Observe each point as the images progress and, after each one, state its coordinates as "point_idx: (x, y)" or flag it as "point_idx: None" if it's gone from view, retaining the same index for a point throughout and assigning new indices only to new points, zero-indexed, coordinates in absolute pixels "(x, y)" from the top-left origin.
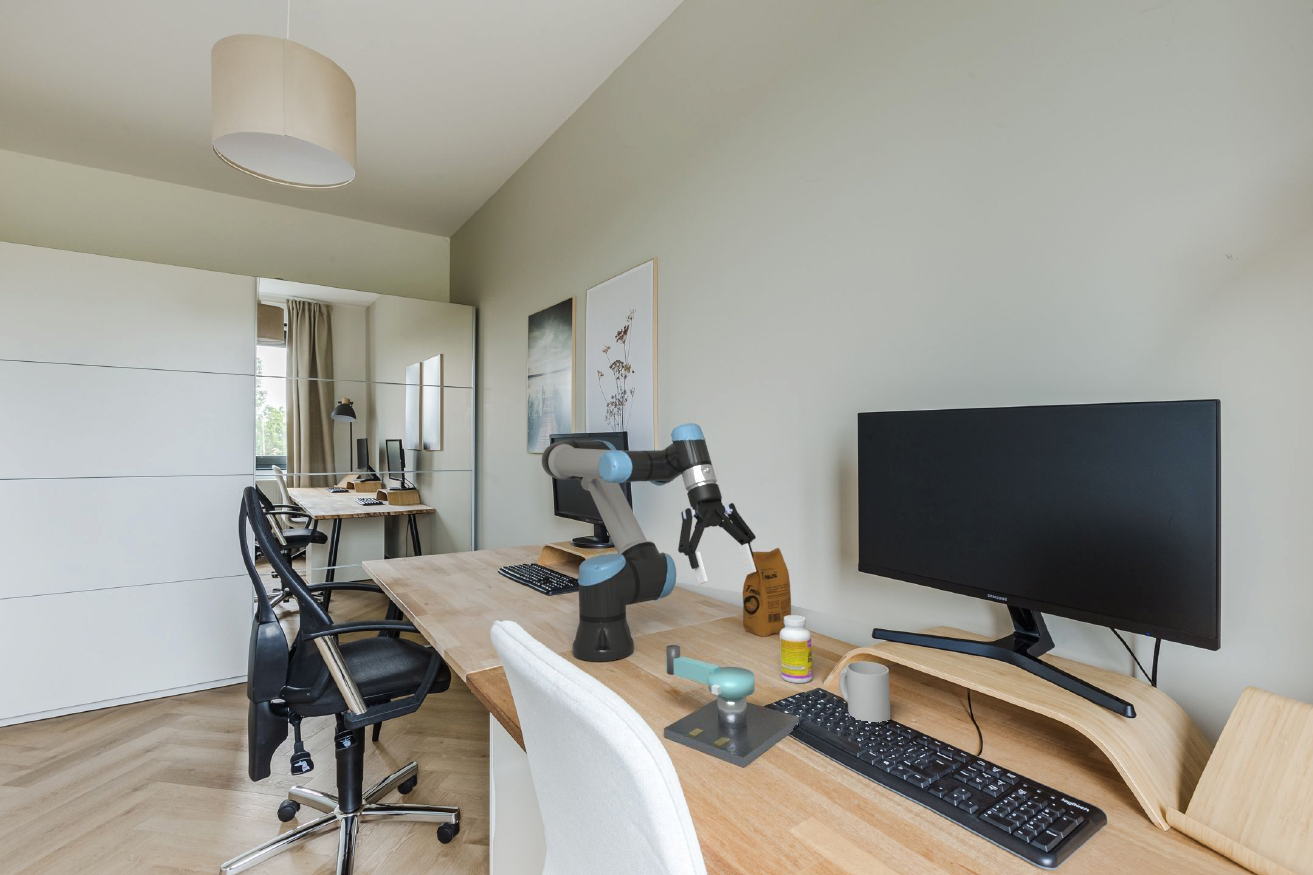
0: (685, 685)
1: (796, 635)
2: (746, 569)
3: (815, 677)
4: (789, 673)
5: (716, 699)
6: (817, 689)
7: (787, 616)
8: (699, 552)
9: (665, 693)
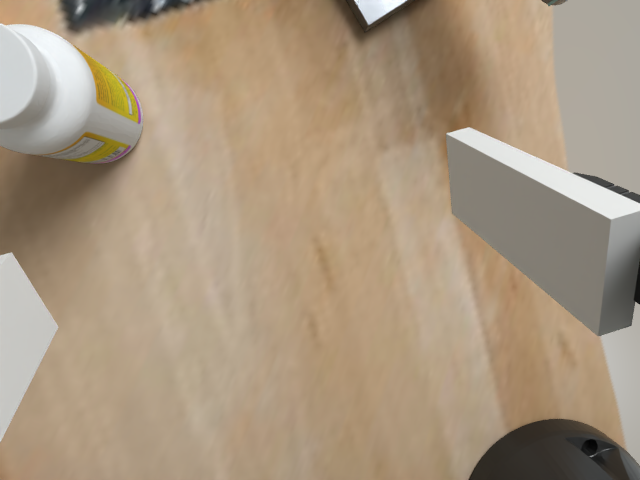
0: (416, 179)
1: (41, 32)
2: (39, 338)
3: None
4: (126, 85)
5: (398, 4)
6: (81, 22)
7: (6, 107)
8: (606, 214)
9: None
